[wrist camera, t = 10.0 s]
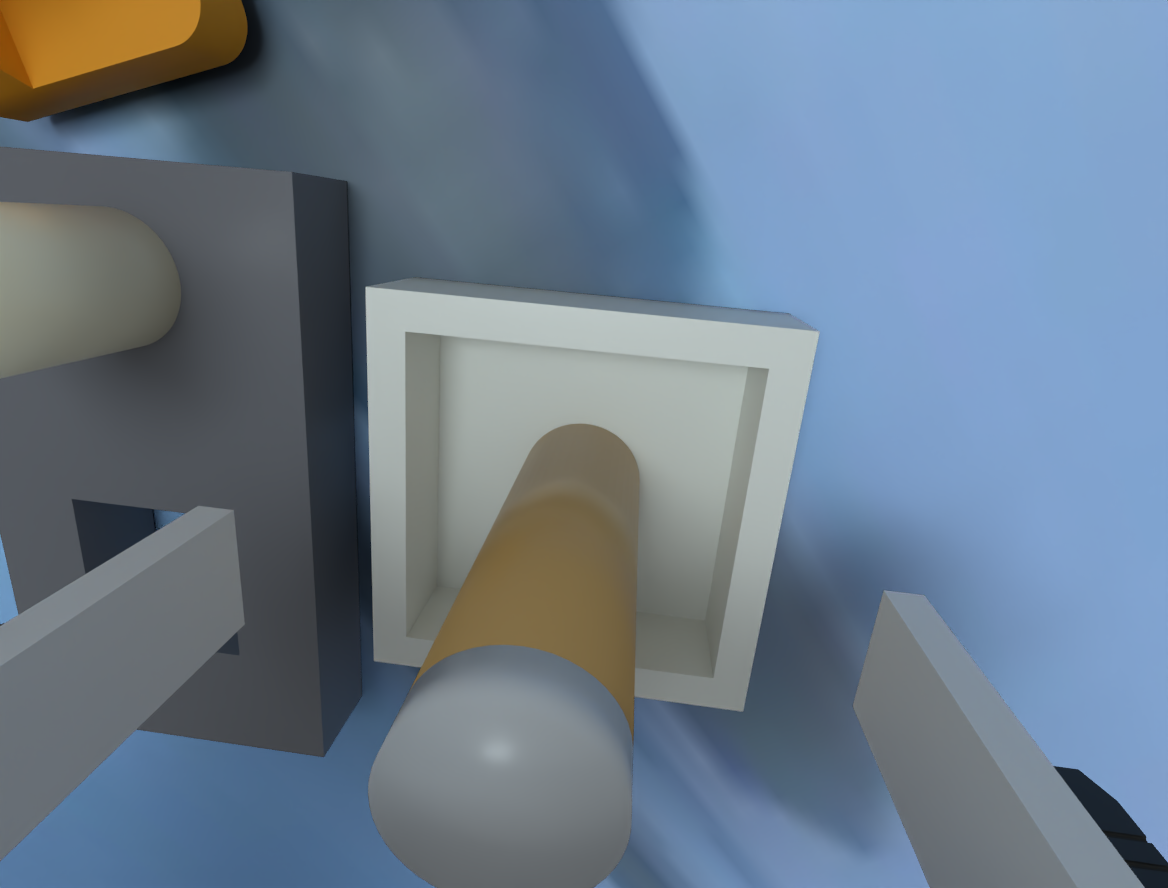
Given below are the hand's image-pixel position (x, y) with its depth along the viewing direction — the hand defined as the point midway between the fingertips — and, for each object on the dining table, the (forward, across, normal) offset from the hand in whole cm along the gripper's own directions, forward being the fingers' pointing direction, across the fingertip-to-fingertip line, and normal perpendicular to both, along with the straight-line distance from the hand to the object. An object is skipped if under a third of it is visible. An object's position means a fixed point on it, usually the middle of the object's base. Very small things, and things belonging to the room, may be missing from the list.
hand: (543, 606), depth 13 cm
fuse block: (+8, -12, -1) cm, 15 cm away
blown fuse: (+7, 0, 0) cm, 7 cm away
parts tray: (+8, 0, 0) cm, 8 cm away
